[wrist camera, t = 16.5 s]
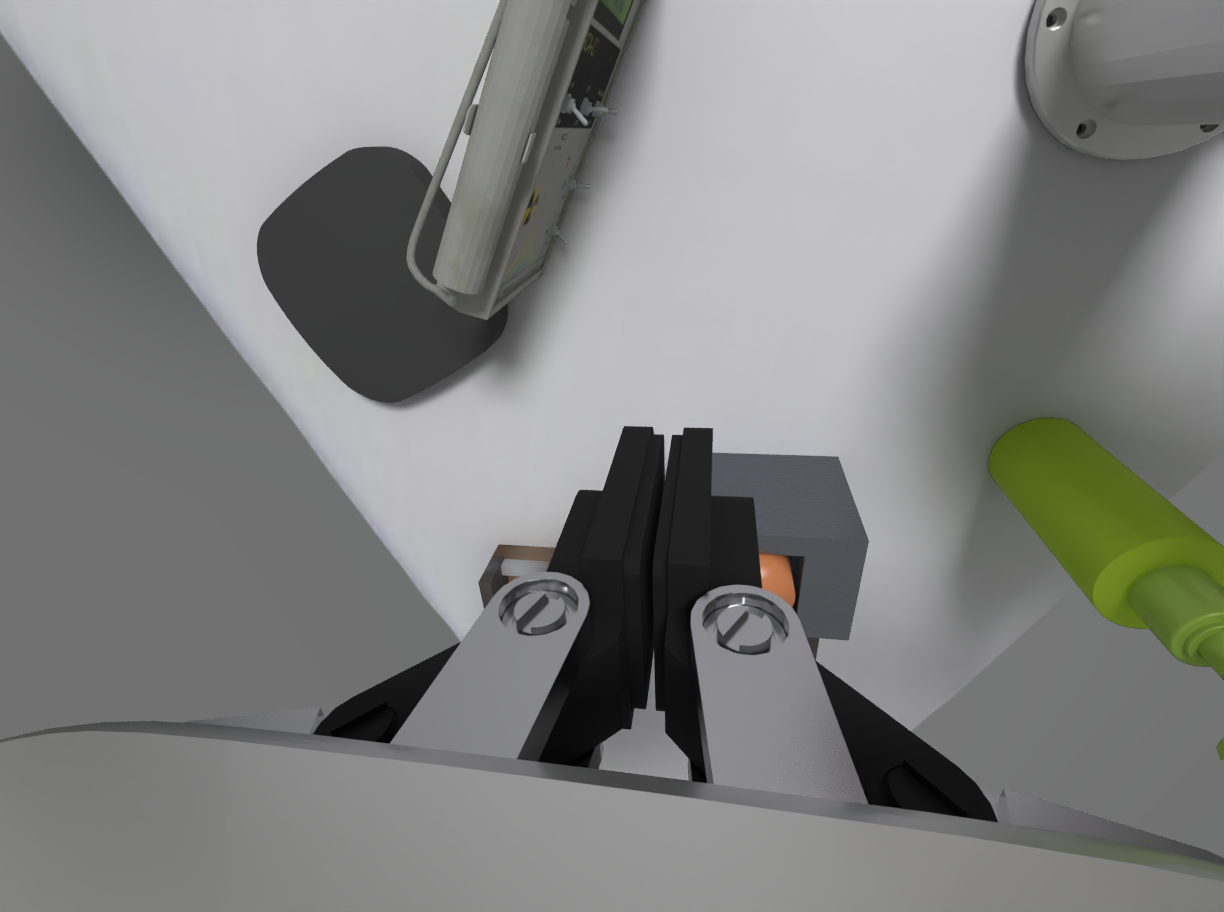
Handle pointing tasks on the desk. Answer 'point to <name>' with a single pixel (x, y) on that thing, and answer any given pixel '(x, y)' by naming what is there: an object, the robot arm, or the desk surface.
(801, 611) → the cabinet
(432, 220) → the media streaming box
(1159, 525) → the soap dispenser
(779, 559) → the button
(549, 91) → the geiger counter
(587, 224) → the desk surface
